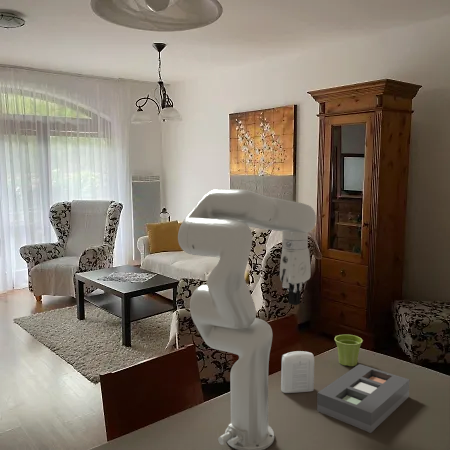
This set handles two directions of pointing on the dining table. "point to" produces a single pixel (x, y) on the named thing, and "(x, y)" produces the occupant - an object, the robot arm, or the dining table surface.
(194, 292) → the robot arm
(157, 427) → the dining table surface
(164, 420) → the dining table surface
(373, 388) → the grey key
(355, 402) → the sage key
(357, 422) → the keypad
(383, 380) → the terracotta key
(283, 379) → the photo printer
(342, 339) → the plant pot
